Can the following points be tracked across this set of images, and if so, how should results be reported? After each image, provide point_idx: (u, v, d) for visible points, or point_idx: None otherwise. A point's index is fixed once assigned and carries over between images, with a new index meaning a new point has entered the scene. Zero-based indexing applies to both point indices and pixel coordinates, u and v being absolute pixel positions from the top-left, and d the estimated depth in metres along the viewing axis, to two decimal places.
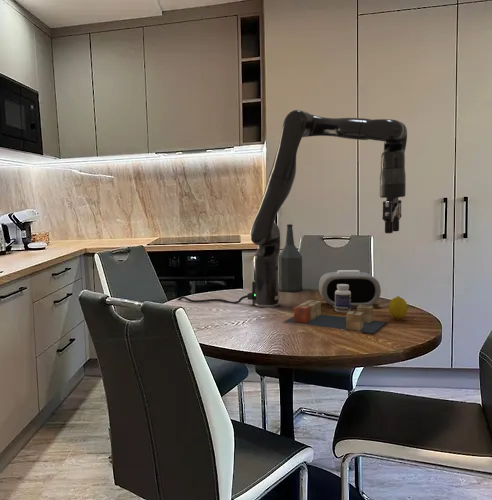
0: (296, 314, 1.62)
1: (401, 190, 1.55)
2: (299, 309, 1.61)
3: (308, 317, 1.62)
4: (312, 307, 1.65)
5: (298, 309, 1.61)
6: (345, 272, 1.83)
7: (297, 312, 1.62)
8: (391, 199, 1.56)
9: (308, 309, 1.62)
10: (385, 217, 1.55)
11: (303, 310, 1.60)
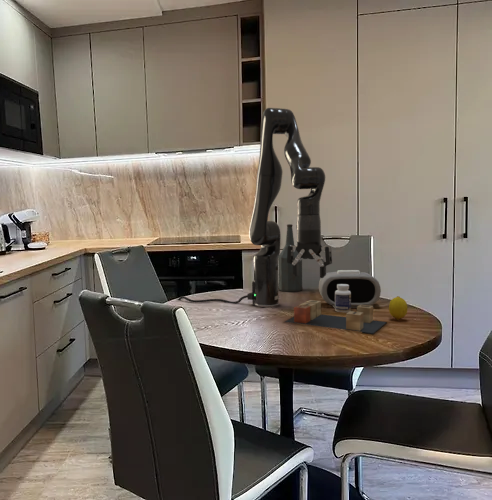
0: (296, 314, 1.62)
1: (298, 236, 1.59)
2: (299, 309, 1.61)
3: (308, 317, 1.62)
4: (312, 307, 1.65)
5: (298, 309, 1.61)
6: (345, 272, 1.83)
7: (297, 312, 1.62)
8: None
9: (308, 309, 1.62)
10: None
11: (303, 310, 1.60)
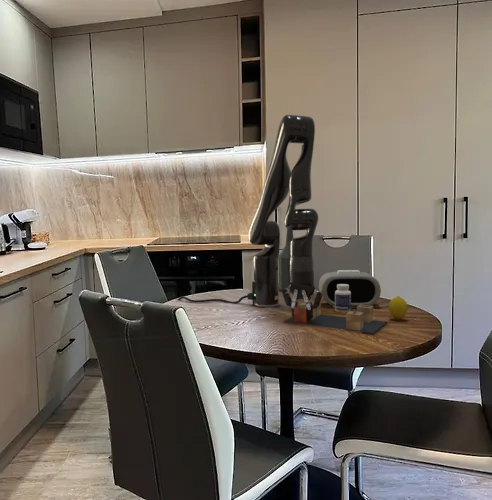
0: (296, 314, 1.62)
1: (291, 277, 1.61)
2: (299, 309, 1.61)
3: None
4: None
5: (298, 309, 1.61)
6: (345, 272, 1.83)
7: (298, 312, 1.62)
8: None
9: None
10: None
11: (303, 310, 1.60)
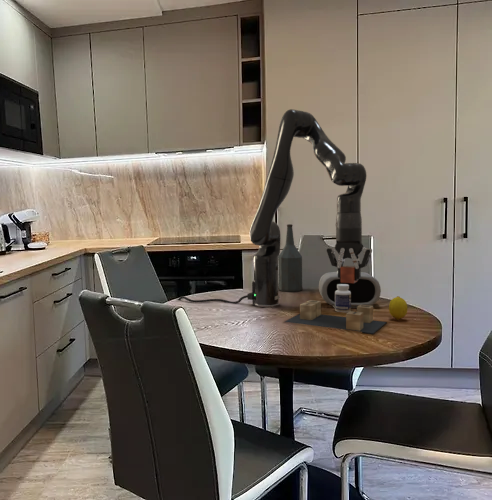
0: (343, 274, 1.55)
1: (338, 235, 1.54)
2: (346, 268, 1.54)
3: None
4: (312, 307, 1.65)
5: (345, 268, 1.54)
6: None
7: (344, 272, 1.54)
8: (336, 243, 1.57)
9: None
10: None
11: (351, 269, 1.53)
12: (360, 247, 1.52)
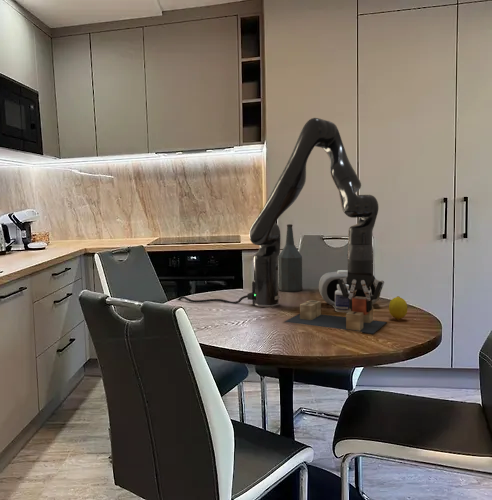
0: (354, 305, 1.55)
1: (350, 267, 1.53)
2: (358, 300, 1.54)
3: None
4: (312, 307, 1.65)
5: (357, 300, 1.54)
6: (345, 272, 1.83)
7: (356, 303, 1.54)
8: None
9: None
10: None
11: (362, 301, 1.53)
12: (372, 279, 1.51)
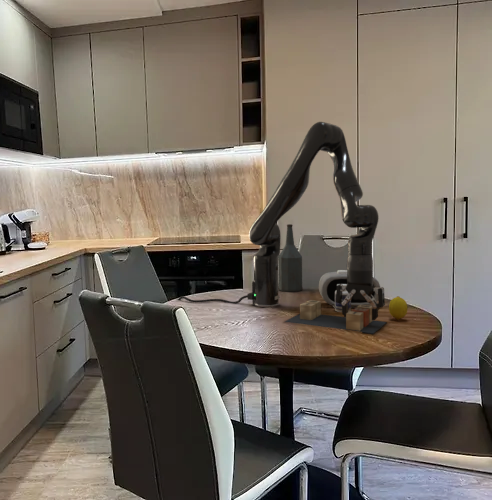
0: None
1: (349, 277, 1.54)
2: None
3: (367, 320, 1.55)
4: (312, 307, 1.65)
5: None
6: (345, 272, 1.83)
7: None
8: (347, 284, 1.57)
9: (367, 312, 1.55)
10: None
11: None
12: (371, 289, 1.52)
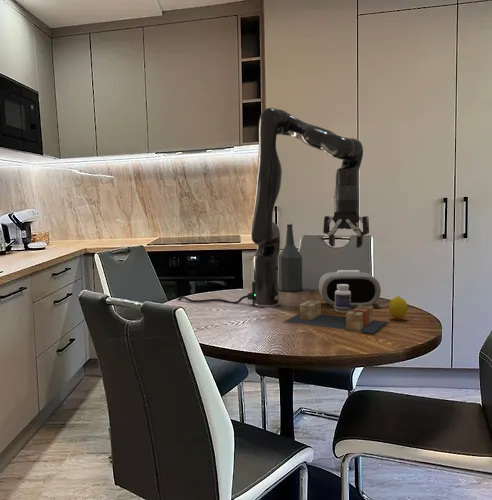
0: None
1: (336, 206, 1.62)
2: None
3: (367, 320, 1.55)
4: (312, 307, 1.65)
5: None
6: (345, 272, 1.83)
7: None
8: None
9: (367, 312, 1.55)
10: None
11: None
12: (356, 218, 1.60)
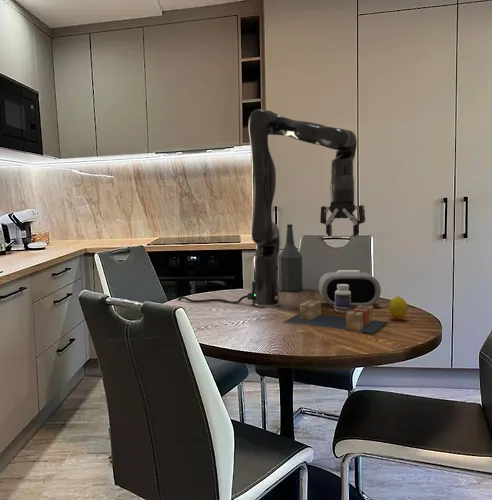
0: None
1: (332, 196, 1.65)
2: None
3: (367, 320, 1.55)
4: (312, 307, 1.65)
5: None
6: (345, 272, 1.83)
7: None
8: None
9: (367, 312, 1.55)
10: None
11: None
12: (352, 207, 1.63)
